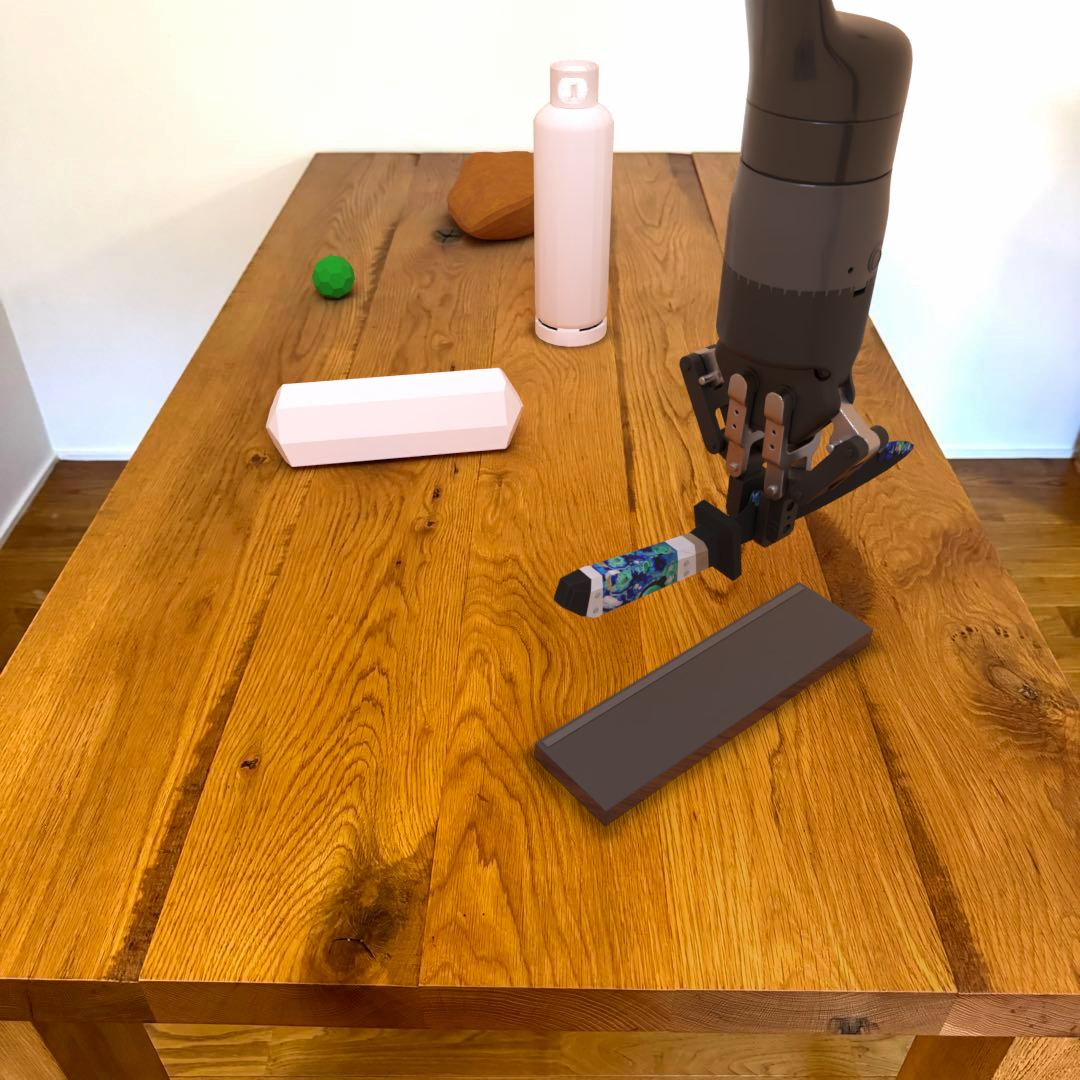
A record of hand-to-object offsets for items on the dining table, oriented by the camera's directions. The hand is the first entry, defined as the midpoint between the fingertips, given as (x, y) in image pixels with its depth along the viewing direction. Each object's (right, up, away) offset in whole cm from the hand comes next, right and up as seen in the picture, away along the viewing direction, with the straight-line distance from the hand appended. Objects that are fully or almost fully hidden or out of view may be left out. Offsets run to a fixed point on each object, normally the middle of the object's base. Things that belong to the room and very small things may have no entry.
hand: (757, 531), depth 62 cm
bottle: (-10, +23, +56) cm, 61 cm away
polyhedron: (-38, +29, +64) cm, 79 cm away
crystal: (-26, +9, +37) cm, 46 cm away
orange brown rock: (-19, +42, +81) cm, 94 cm away
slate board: (-1, -11, +10) cm, 16 cm away
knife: (0, -1, +1) cm, 1 cm away
